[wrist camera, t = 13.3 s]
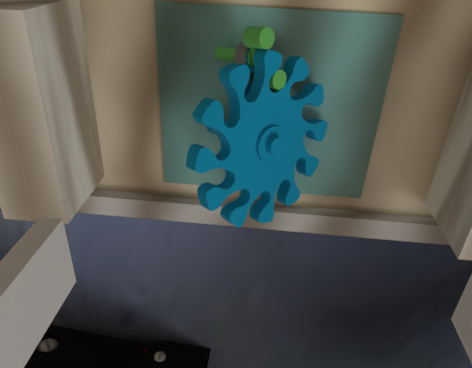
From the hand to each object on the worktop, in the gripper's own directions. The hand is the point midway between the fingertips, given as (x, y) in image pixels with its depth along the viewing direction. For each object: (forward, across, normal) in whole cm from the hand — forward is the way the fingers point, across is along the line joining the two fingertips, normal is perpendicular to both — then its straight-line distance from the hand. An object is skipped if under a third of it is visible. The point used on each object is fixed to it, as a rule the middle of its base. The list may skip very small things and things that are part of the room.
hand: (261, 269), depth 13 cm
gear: (+15, 0, 0) cm, 15 cm away
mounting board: (+16, 0, +1) cm, 16 cm away
